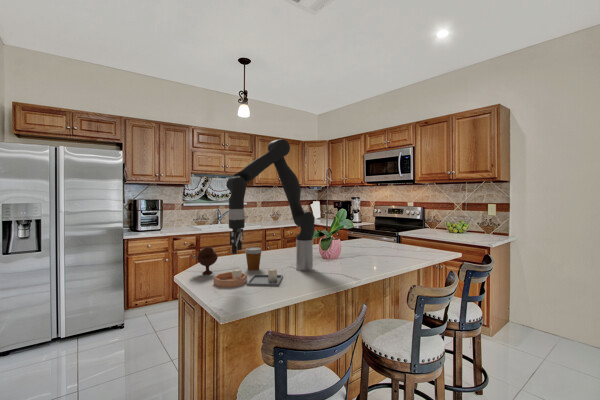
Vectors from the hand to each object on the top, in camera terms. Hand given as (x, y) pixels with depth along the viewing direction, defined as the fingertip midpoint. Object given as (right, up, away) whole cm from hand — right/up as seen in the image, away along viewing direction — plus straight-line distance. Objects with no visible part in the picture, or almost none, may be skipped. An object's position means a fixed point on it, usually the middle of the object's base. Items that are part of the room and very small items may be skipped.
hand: (237, 251), depth 143 cm
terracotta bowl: (-3, -15, +1) cm, 16 cm away
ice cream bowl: (-20, -15, +18) cm, 31 cm away
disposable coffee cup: (+4, -15, +26) cm, 30 cm away
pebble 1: (0, -15, 0) cm, 15 cm away
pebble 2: (+17, -15, +2) cm, 22 cm away
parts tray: (+13, -15, +2) cm, 21 cm away
